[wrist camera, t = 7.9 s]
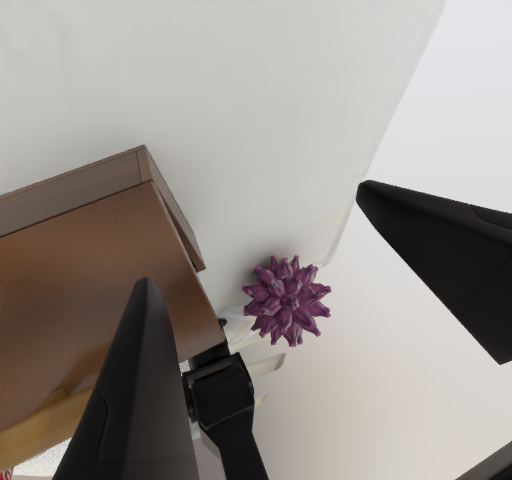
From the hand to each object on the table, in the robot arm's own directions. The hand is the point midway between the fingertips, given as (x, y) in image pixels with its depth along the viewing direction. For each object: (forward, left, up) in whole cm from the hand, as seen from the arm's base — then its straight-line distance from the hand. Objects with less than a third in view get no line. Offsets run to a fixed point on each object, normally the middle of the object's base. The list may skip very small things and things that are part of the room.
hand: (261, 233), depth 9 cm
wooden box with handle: (-11, +4, -4) cm, 13 cm away
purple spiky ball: (-12, -19, -13) cm, 26 cm away
